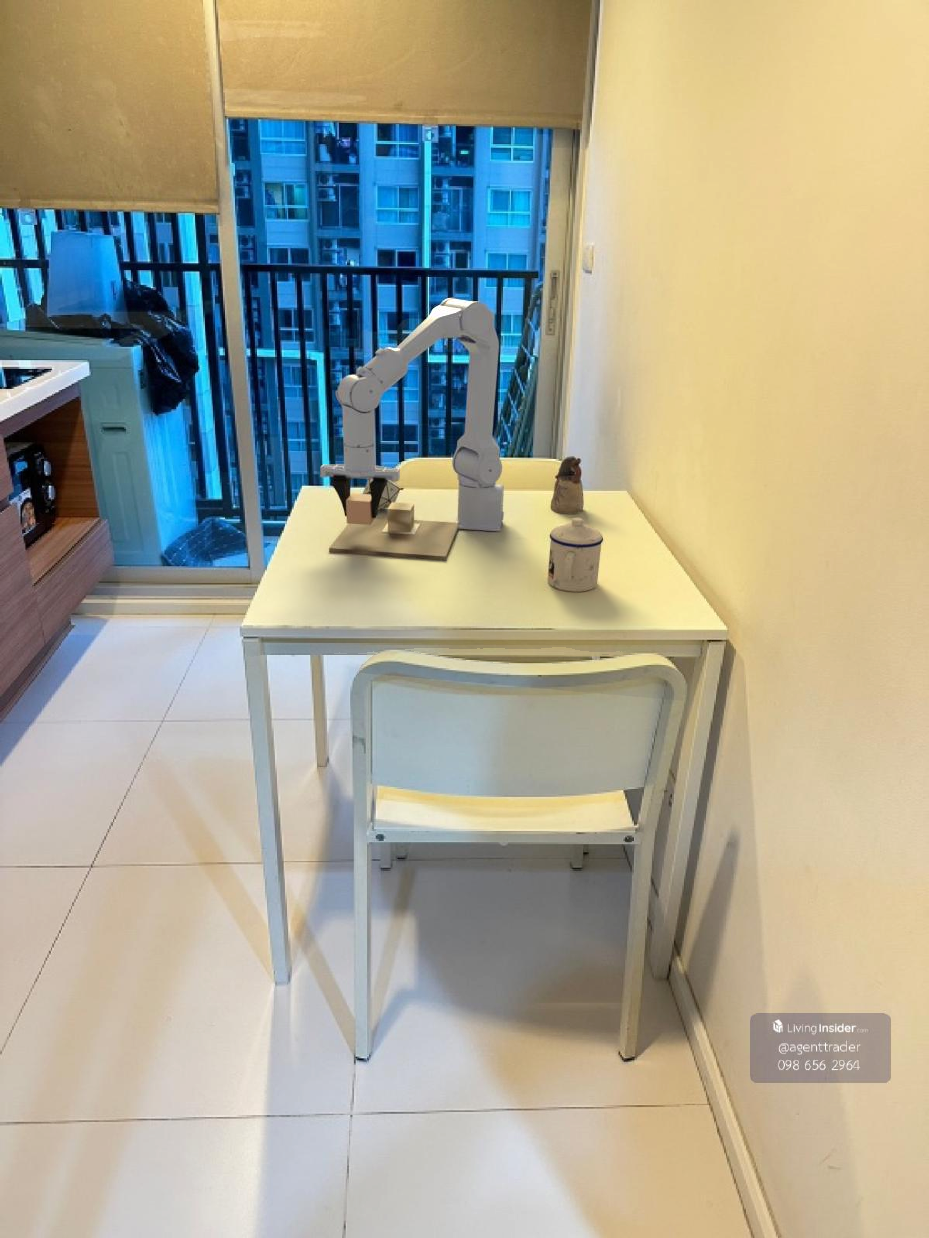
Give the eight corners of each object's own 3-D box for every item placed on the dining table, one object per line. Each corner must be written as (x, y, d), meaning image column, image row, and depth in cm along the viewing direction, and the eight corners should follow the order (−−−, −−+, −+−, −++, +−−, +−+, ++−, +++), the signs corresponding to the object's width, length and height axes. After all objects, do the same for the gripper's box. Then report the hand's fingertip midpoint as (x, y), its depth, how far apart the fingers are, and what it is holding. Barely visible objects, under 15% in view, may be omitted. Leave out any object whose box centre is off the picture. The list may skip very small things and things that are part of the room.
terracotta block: (375, 517, 159) (375, 494, 157) (370, 525, 155) (369, 501, 153) (352, 516, 159) (351, 493, 157) (346, 523, 155) (346, 500, 153)
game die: (388, 528, 180) (400, 500, 172) (351, 513, 179) (361, 484, 171) (399, 498, 185) (411, 470, 177) (363, 484, 184) (374, 454, 176)
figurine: (569, 503, 189) (574, 451, 184) (589, 511, 183) (594, 458, 178) (544, 507, 185) (548, 454, 180) (563, 516, 180) (568, 461, 175)
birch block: (414, 525, 168) (414, 503, 166) (410, 532, 164) (410, 510, 162) (392, 523, 168) (392, 502, 166) (387, 530, 164) (387, 508, 162)
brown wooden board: (459, 526, 171) (459, 522, 171) (445, 560, 153) (445, 555, 153) (354, 519, 173) (354, 515, 173) (329, 552, 155) (328, 547, 155)
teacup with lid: (551, 570, 150) (556, 508, 145) (601, 577, 148) (608, 514, 143) (538, 595, 139) (542, 529, 134) (591, 602, 137) (598, 536, 132)
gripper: (314, 447, 148) (317, 519, 154) (394, 451, 147) (394, 524, 152) (325, 438, 154) (328, 508, 160) (401, 442, 153) (402, 513, 159)
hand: (361, 515), depth 157 cm, fingers closed on terracotta block, 4 cm apart
